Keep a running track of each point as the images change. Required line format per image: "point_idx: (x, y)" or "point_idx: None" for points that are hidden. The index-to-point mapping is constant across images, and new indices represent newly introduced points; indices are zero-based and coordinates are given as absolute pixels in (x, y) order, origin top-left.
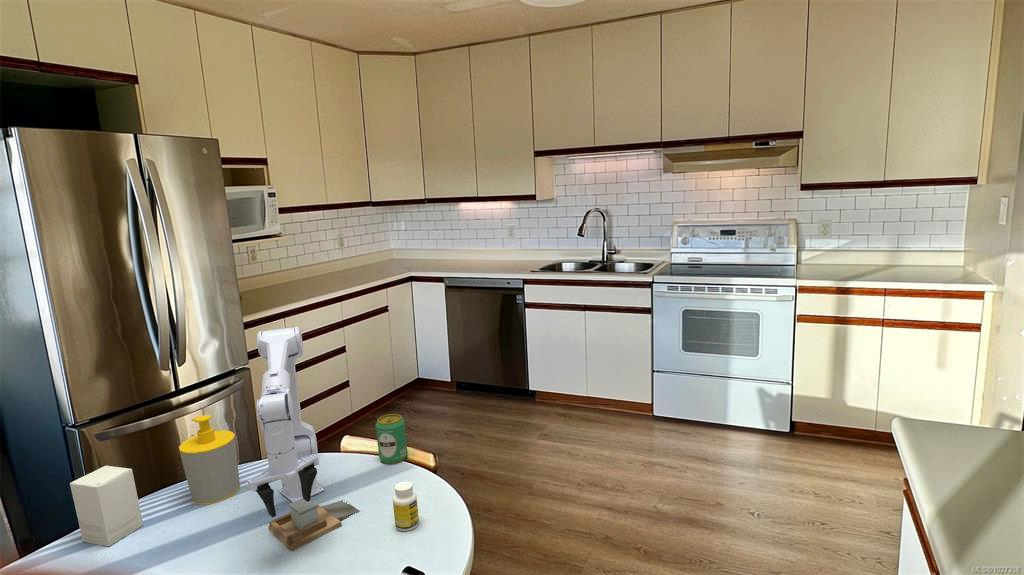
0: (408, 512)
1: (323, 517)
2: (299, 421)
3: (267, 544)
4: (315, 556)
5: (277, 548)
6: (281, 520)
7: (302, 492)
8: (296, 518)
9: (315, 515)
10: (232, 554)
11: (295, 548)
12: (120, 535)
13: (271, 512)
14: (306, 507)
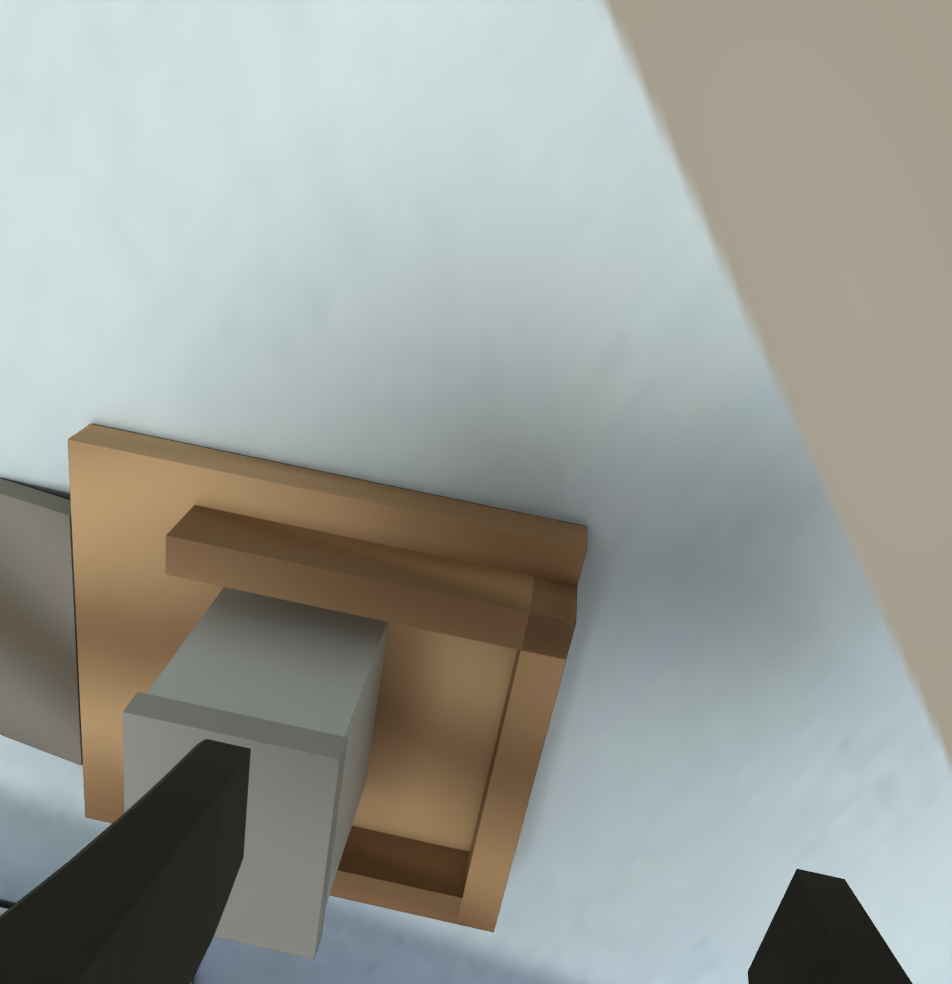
0: None
1: (146, 634)
2: None
3: (623, 763)
4: (529, 248)
5: (621, 659)
6: (411, 873)
7: (195, 956)
8: (352, 771)
9: (210, 652)
10: None
11: (550, 520)
12: None
13: (903, 971)
14: None
